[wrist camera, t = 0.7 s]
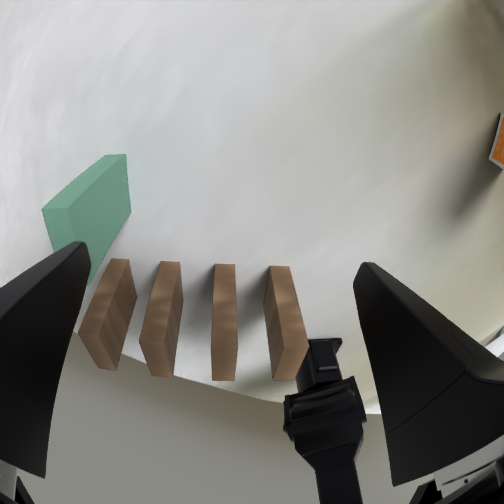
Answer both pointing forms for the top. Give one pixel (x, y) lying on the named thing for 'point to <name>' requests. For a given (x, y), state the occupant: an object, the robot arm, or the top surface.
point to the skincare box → (498, 145)
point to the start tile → (91, 209)
